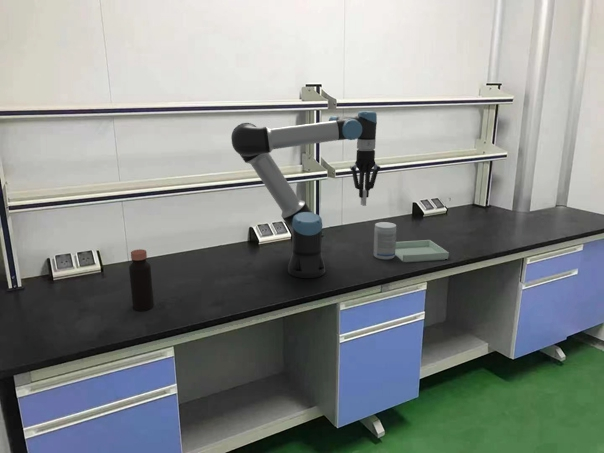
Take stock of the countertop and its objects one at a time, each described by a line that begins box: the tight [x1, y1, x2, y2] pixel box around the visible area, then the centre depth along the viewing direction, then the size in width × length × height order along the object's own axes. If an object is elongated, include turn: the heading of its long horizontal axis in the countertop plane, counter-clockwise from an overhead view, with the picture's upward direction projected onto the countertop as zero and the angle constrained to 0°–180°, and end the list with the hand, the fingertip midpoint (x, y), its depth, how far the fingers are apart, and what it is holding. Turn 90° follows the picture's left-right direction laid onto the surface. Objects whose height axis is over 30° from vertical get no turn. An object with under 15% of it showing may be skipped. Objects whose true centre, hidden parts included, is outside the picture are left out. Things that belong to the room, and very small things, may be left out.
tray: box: [395, 239, 450, 264], centre depth 222 cm, size 21×18×3 cm
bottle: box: [128, 248, 155, 312], centre depth 164 cm, size 7×7×20 cm
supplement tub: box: [373, 221, 397, 260], centre depth 216 cm, size 10×10×15 cm
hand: (363, 204), depth 209 cm, fingers closed
